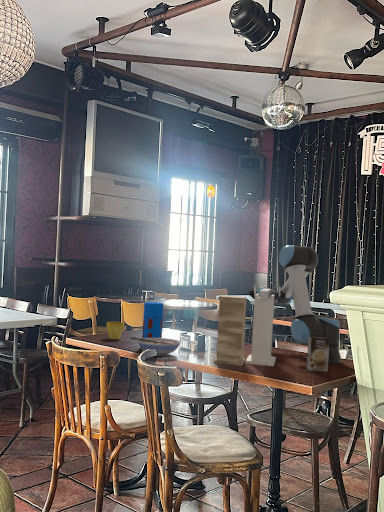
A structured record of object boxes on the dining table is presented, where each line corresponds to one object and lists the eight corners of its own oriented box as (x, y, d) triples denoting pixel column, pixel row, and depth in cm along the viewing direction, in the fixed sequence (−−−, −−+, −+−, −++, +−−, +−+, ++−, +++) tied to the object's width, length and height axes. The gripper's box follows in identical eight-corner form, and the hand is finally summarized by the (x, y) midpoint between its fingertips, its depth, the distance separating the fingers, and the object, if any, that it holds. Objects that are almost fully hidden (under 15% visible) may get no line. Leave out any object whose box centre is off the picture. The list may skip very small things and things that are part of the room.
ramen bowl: (190, 355, 298) (190, 340, 298) (166, 361, 278) (167, 344, 278) (151, 349, 311) (151, 334, 311) (125, 354, 291) (126, 338, 291)
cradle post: (249, 357, 303) (253, 292, 303) (275, 359, 300) (279, 294, 301) (245, 363, 284) (249, 294, 284) (273, 366, 281) (277, 296, 281)
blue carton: (158, 349, 311) (160, 304, 311) (139, 348, 313) (141, 302, 313) (163, 346, 321) (165, 302, 321) (144, 345, 324) (147, 301, 324)
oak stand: (218, 358, 293) (221, 295, 294) (244, 361, 291) (248, 296, 291) (213, 363, 280) (217, 296, 280) (242, 365, 277) (245, 298, 277)
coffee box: (309, 371, 274) (311, 337, 274) (306, 368, 280) (307, 335, 280) (328, 371, 274) (329, 338, 274) (324, 369, 281) (326, 336, 281)
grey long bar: (263, 295, 309) (263, 288, 309) (270, 296, 309) (271, 288, 309) (259, 298, 282) (259, 290, 282) (267, 299, 281) (267, 291, 281)
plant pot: (102, 338, 339) (103, 322, 339) (110, 336, 349) (111, 321, 349) (118, 340, 336) (119, 324, 336) (125, 338, 346) (126, 322, 346)
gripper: (289, 312, 324) (289, 295, 306) (245, 309, 329) (243, 292, 311) (289, 300, 328) (290, 283, 310) (246, 297, 332) (245, 280, 314)
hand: (267, 287), depth 310 cm, fingers open, 13 cm apart
